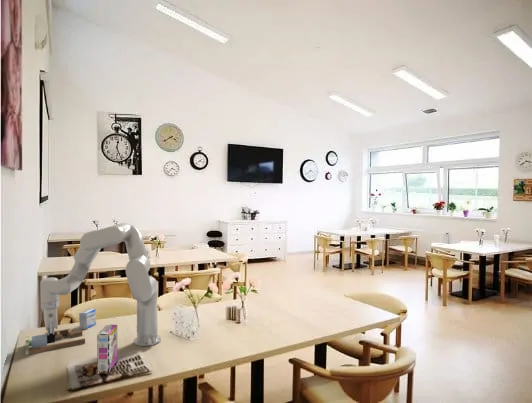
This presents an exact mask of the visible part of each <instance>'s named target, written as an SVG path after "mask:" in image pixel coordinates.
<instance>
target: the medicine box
mask: <svg viewBox="0 0 532 403" xmlns="http://www.w3.org/2000/svg"><path fill="white" fill-rule="evenodd" d="M78 316H79V319H78V320H79V329H80V330H89V329H90V328H92V327H94V326H95V324H96V325H97V310H96V308H88V309H85V310H83V311H81V312H79V314H78ZM88 328H89V329H88Z"/></svg>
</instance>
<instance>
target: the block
mask: <svg viewBox="0 0 532 403" xmlns="http://www.w3.org/2000/svg"><path fill="white" fill-rule="evenodd" d="M31 340H32V345H31V349H32V348H37V347H42V346H47V345H48V344H47V334H45V333H44V334H43V333H42V334H38V335H33V336H31Z"/></svg>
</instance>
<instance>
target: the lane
mask: <svg viewBox="0 0 532 403" xmlns="http://www.w3.org/2000/svg"><path fill="white" fill-rule="evenodd" d="M54 333H55V342H56V341H61V340H63V339H65V338H66V339H67V338H76V337H83V331H82V330H79V331H73V332H72V329H71V328H64V329H60V330H54ZM44 334H47V332H45V333H44ZM82 344H86V338H78V339H73V340H69V341H68V340H67V341H63V342H59V343H51V344H47V346H42V347H37V348H32V347H31V348H30V346H32V339H30V337H29V336H25V356H27V355H32V354H39V353H43V352H48V351H52V350H54V351H55V350H58V349H63V348H68V347H73V346H77V345H78V346H79V345H82Z"/></svg>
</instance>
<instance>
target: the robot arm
mask: <svg viewBox="0 0 532 403" xmlns="http://www.w3.org/2000/svg"><path fill="white" fill-rule="evenodd" d="M122 242H123V243H125V247H126V248H125V249H126V253H127V256H128V259H129V261H128V262H127V263H126V265H125V275H126V278H127V283H128V287H129V289H130V293H131V295H132V297H133V299H134V300H135V301H136V337H135V338H134V339H133V344H134V345H135V346H138V347H151V346H154V345H156V344H159V343H160V342H161V341H162V337H161V336H160V335H159V334H158V296H159V294H158V293H159V284H158V280H156V278H155V277H153V276H151V275H149V271H150V269H151V261H150V258H149V256H148V252H147V247H146V244H145V242H144V238H143V235H142V233H141V232H140V230H139V229H138V228H137V227H135V225H132V224H130V223H123V222H121V223H120V222H119V223H117V224H114V225H112V226H108V227H105V228H100V229H96V230H95V229H94V230H91V231H88V232H85V233H84V234H83V235H82V236H81V237H80V241H79V243H80V245H79V248H78V249H77V251H76V252H75V253H74V256H73V260H74V264H73V266H72V268H71V270H69V272H68V274H67V276H65V277H63V278H60V279H58V278H57V277H53V276H51V277H46V278H45V277H44V278H42V279H41V280H40V281H39V282H40V310H43V318H44V327H45V330H46V331H47V332H46V333H47V345H50V344H55V343H56V341H55V333H54V331H55V330H57V329H58V328H59V327H58V324H59V322H58V308H59V307H60V296H67V295H68V294H70V293H72V292H73V291H74V290H76V289H77V288H79V287H80V285H81V284H82V282H83V281H84V279H85V278H86V276H87V275H88V272H89V270H90V268H91V266H92V263H93V262H94V260H95V259H96V257H97V256H98V254H99V252H100V251H101V249H103V248H107V247H111V246H115V245H118V244H120V243H122Z"/></svg>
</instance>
